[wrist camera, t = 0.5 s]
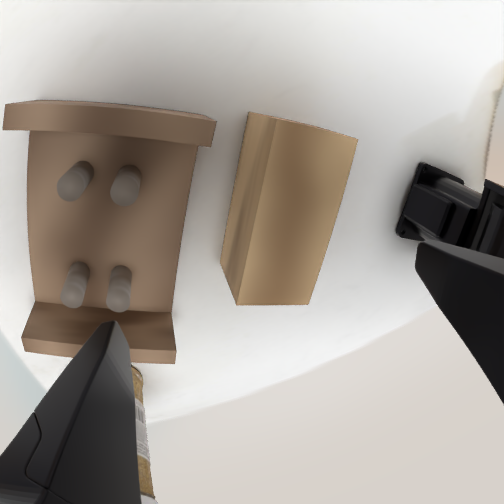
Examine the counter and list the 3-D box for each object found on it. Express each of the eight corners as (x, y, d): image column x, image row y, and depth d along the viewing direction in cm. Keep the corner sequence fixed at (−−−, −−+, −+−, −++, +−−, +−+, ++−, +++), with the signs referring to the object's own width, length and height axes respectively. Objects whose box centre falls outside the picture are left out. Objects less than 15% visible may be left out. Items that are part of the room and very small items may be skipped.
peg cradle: (203, 115, 17) (216, 121, 13) (169, 320, 23) (174, 363, 19) (37, 100, 14) (5, 104, 10) (39, 309, 19) (24, 351, 16)
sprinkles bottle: (82, 370, 23) (76, 520, 12) (123, 352, 23) (131, 515, 12) (114, 398, 25) (123, 535, 14) (154, 383, 26) (176, 528, 14)
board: (315, 126, 19) (358, 139, 15) (280, 263, 23) (308, 304, 19) (247, 111, 18) (277, 118, 14) (219, 261, 22) (236, 305, 18)
